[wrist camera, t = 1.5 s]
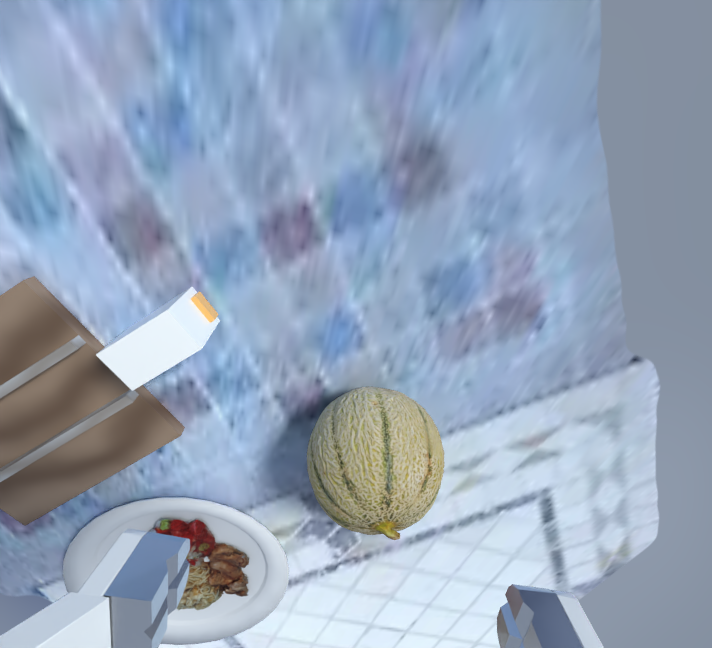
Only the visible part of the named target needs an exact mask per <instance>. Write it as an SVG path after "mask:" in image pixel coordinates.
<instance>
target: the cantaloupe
mask: <svg viewBox="0 0 712 648" xmlns="http://www.w3.org/2000/svg"><path fill="white" fill-rule="evenodd" d="M307 466H308V467H307V471H308V474H309V480H310V482H311V485H312V488H313V491H314V494H315V497H316V499H317V501H318V503H319V504H320V506H321V507H322V509H323V510H324V511H325V512H326V514H327V515H328V516H329V517H330V518H331V519H332V520H333V521H335V522H336V523H337V524H339V525H340V526H342V527H344V528H346V529H348V530H351V531H355V532H360V533H363V534H367V535H376V534H384V535H386V536H387V537H388V538H390V539H393V540H397V539H400V533H398V532H396V531H400V530H403V529H405V528H407V527H409V526H411V525H413V524H414V523H416V522H418V521H419V520H420V519H421V518H423V517H424V515H425V514H426V513H427V512H428V511H429V510H430V509H431V507H432V505H433V503H434V501H435V499H436V496H437V494H438V491H439V489H440V485H441V479H442V476H443V472H444V470H443V468H444V450H443V447H442V441H441V438H440V435H439V432H438V429H437V427H436V425H435V424H434V422H433V420H432V418H431V417H430V415H429V414H428V413H427V412H426V411H425V409H424V408H423V407H422V406H420V405H419V404H418V403H417V402H416V401H414V400H412V399H411V398H409V397H408V396H406V395H404V394H403V393H400V392H398V391H394V390H390V389H383V388H377V387H361V388H357V389H353V390H351V391H349V392H347V393H345V394H344V395H342V396H339V397H338V398H336V399H335V400H334V401H332V402H331V403H330V404H329V405H328V406H327V407H326V408H325V409H324V410H323V412H322V413H321V415H320V417H319V419H318V420H317V422H316V424H315V427H314V429H313V431H312V434H311V436H310V440H309V443H308V450H307Z"/></svg>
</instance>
